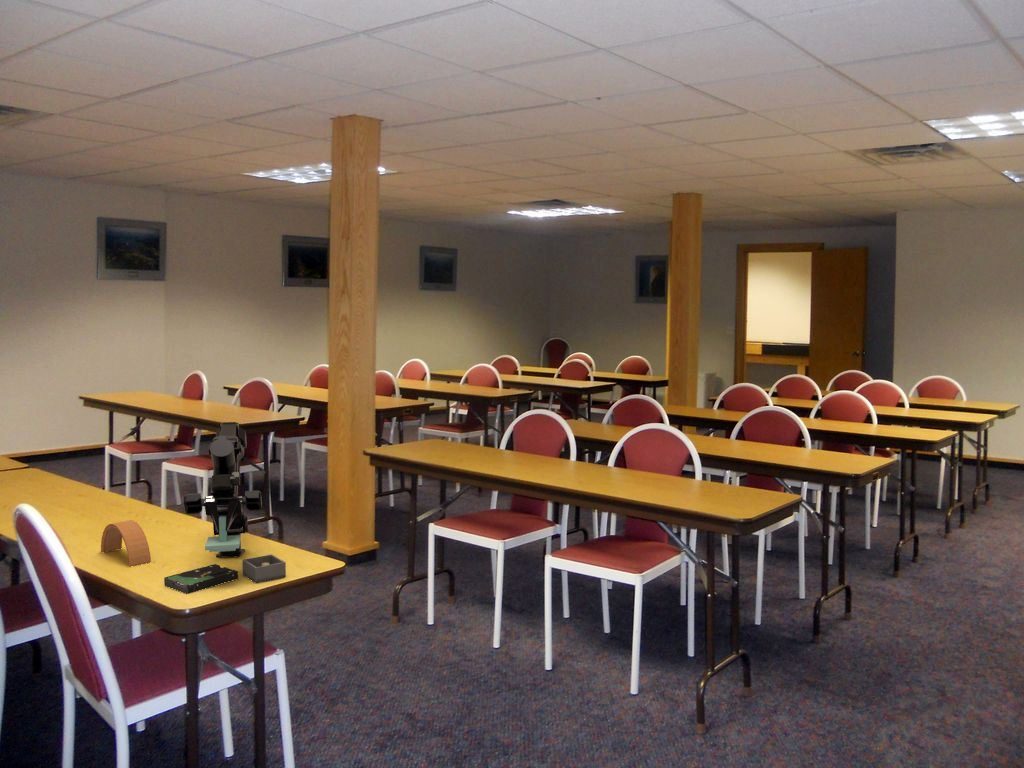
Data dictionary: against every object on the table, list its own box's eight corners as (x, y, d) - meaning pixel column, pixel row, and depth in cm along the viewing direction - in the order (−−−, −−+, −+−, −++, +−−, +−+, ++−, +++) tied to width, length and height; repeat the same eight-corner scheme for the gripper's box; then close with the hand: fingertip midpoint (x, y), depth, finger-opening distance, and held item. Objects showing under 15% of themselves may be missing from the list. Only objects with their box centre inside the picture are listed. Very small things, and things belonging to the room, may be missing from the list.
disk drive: (214, 574, 230) (163, 587, 218) (214, 563, 230) (163, 576, 218) (239, 581, 224) (187, 596, 212) (239, 570, 224) (187, 584, 212)
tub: (242, 574, 227) (242, 559, 227) (272, 568, 232) (271, 554, 232) (255, 583, 220) (255, 568, 220) (285, 577, 225) (285, 562, 225)
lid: (208, 543, 224) (207, 513, 223) (241, 541, 226) (240, 512, 225) (205, 553, 215) (204, 522, 215) (239, 551, 217) (238, 520, 217)
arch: (129, 567, 233) (127, 531, 232) (100, 552, 247) (99, 518, 246) (151, 563, 237) (149, 527, 236) (121, 548, 251) (120, 514, 250)
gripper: (183, 462, 220) (179, 516, 210) (260, 459, 225) (259, 511, 215) (187, 487, 228) (184, 539, 219) (261, 483, 233) (261, 534, 223)
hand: (222, 530), depth 219 cm, fingers closed on lid
